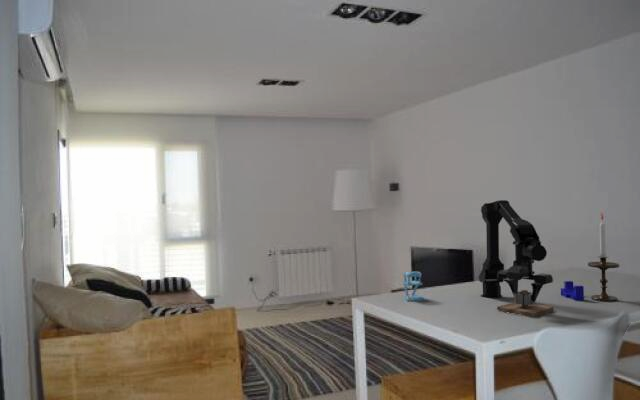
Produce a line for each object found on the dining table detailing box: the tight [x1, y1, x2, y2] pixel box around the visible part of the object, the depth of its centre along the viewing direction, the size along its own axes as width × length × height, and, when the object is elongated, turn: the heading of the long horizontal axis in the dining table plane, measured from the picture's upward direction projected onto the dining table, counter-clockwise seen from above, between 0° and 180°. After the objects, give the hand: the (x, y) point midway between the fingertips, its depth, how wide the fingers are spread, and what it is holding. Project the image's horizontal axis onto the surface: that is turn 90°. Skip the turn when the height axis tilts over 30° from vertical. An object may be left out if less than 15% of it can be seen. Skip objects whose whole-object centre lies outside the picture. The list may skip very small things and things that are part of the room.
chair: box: [402, 271, 426, 302], centre depth 203 cm, size 8×8×12 cm
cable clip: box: [560, 280, 585, 302], centre depth 197 cm, size 12×4×6 cm, turn 173°
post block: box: [496, 289, 554, 318], centre depth 177 cm, size 14×14×8 cm
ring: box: [513, 290, 536, 305], centre depth 177 cm, size 7×7×4 cm
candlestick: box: [587, 212, 620, 303], centre depth 192 cm, size 11×11×35 cm
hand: (524, 299), depth 177 cm, fingers closed on ring, 7 cm apart
